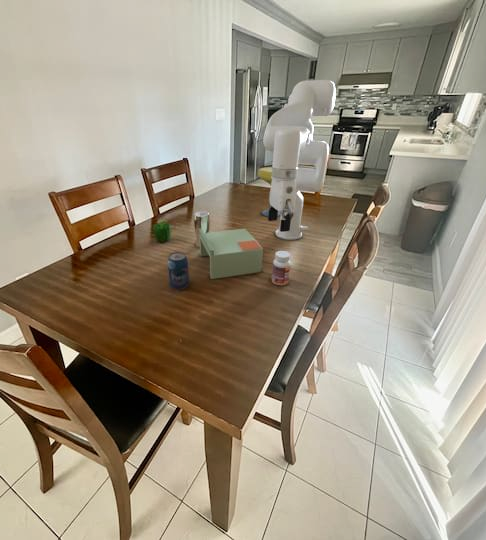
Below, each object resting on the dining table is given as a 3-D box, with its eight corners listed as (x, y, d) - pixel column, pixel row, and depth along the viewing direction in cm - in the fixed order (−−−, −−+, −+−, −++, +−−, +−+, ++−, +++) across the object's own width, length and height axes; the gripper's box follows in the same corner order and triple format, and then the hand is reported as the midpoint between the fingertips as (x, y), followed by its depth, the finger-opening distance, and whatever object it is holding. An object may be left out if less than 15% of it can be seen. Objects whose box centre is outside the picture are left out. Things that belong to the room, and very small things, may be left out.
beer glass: (208, 249, 131) (207, 217, 123) (193, 247, 132) (191, 216, 124) (211, 242, 137) (211, 211, 129) (197, 241, 138) (195, 210, 130)
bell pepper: (150, 242, 137) (147, 221, 132) (161, 235, 144) (158, 216, 139) (164, 245, 134) (162, 225, 129) (175, 238, 140) (173, 219, 135)
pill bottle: (286, 287, 105) (290, 259, 99) (269, 283, 106) (272, 256, 101) (289, 278, 109) (293, 251, 104) (273, 275, 111) (276, 248, 106)
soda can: (174, 292, 102) (171, 262, 96) (167, 283, 107) (164, 254, 101) (192, 287, 105) (190, 258, 99) (184, 278, 110) (182, 249, 104)
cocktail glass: (291, 211, 172) (297, 167, 159) (279, 221, 158) (285, 174, 146) (263, 206, 180) (266, 163, 167) (249, 215, 167) (252, 169, 154)
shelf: (244, 249, 130) (245, 224, 124) (261, 271, 114) (263, 243, 108) (200, 254, 126) (199, 229, 120) (211, 279, 109) (210, 250, 103)
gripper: (309, 179, 84) (300, 234, 92) (283, 167, 98) (277, 216, 107) (285, 180, 82) (278, 236, 91) (262, 168, 97) (258, 217, 105)
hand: (278, 225), depth 99 cm, fingers open, 9 cm apart
